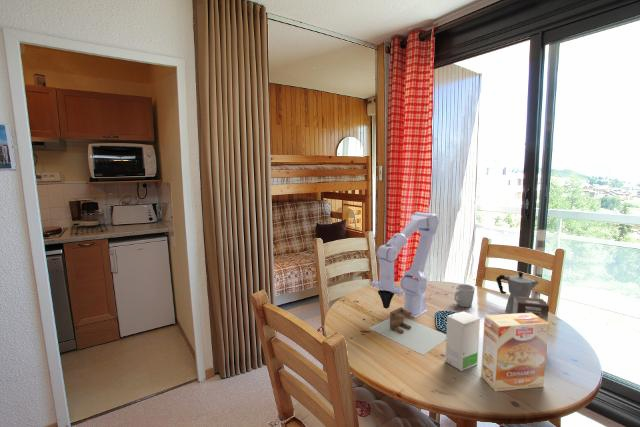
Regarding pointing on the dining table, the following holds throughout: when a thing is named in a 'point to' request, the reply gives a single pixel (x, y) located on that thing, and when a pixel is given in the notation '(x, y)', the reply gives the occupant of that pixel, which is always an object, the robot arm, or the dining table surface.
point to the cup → (464, 295)
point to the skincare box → (462, 340)
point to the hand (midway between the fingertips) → (386, 307)
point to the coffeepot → (516, 288)
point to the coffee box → (531, 306)
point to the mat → (411, 335)
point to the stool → (398, 319)
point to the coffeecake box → (514, 351)
